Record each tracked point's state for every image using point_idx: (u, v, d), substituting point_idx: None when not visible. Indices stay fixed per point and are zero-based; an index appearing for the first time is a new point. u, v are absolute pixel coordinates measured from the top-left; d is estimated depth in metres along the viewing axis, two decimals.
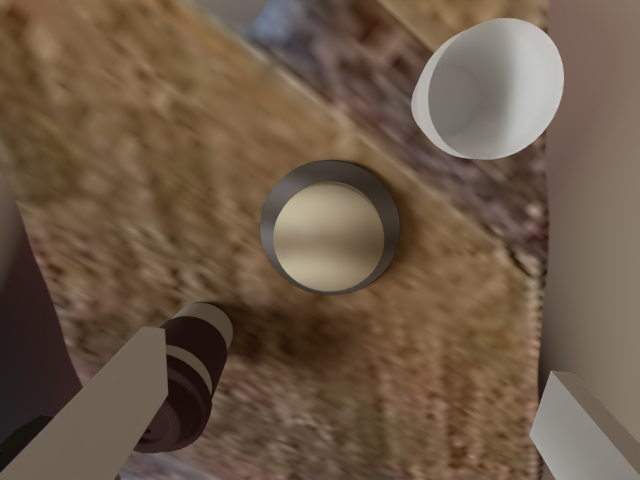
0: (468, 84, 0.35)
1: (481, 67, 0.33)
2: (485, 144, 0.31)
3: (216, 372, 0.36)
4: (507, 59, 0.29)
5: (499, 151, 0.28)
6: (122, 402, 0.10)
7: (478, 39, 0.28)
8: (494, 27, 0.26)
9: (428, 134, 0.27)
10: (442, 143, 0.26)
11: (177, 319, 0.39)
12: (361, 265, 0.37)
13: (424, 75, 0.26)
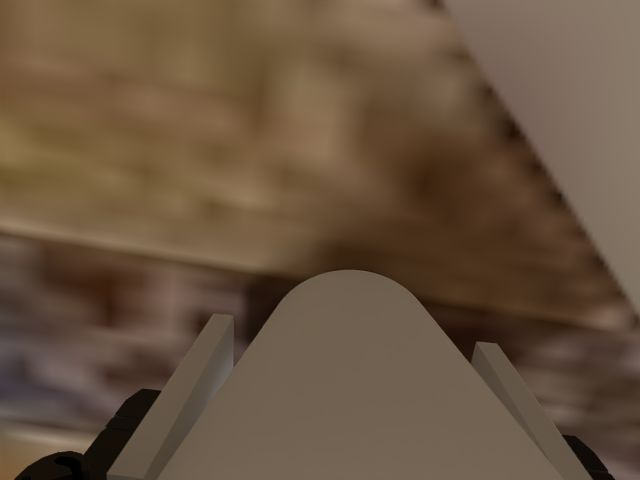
0: None
1: None
2: None
3: None
4: None
5: None
6: (209, 378, 0.11)
7: None
8: (241, 453, 0.05)
9: None
10: None
11: None
12: None
13: None
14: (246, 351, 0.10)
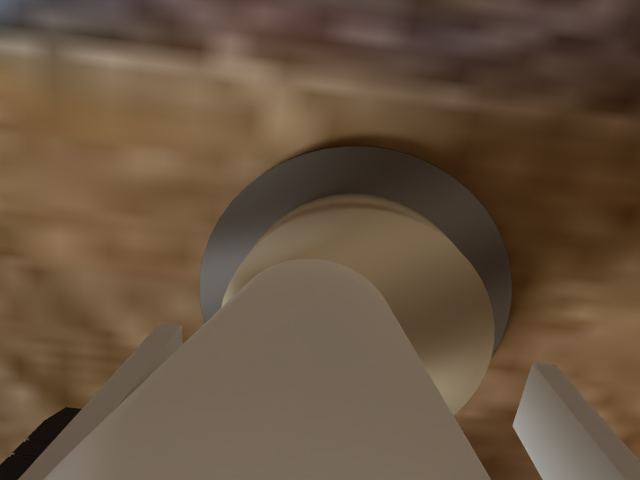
0: None
1: None
2: None
3: None
4: None
5: None
6: None
7: None
8: (121, 430, 0.05)
9: None
10: None
11: None
12: (456, 358, 0.15)
13: None
14: None
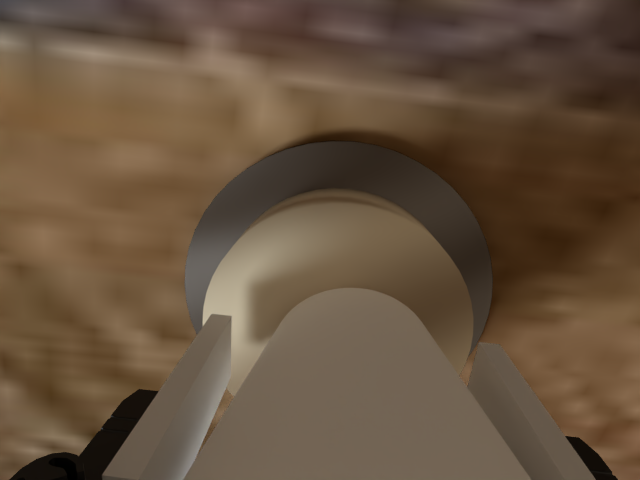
0: None
1: None
2: None
3: None
4: None
5: None
6: (207, 379, 0.11)
7: None
8: None
9: None
10: None
11: None
12: None
13: None
14: (367, 333, 0.10)
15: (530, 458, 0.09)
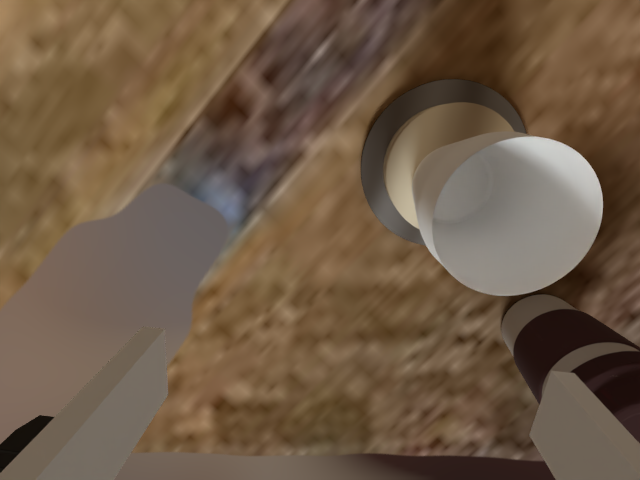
0: (482, 177, 0.30)
1: (503, 168, 0.28)
2: (476, 256, 0.26)
3: (600, 332, 0.29)
4: (536, 177, 0.24)
5: (488, 277, 0.24)
6: (122, 402, 0.10)
7: (517, 143, 0.23)
8: (542, 142, 0.21)
9: (421, 228, 0.22)
10: (433, 249, 0.21)
11: (516, 354, 0.34)
12: None
13: (445, 162, 0.21)
14: None
15: None
